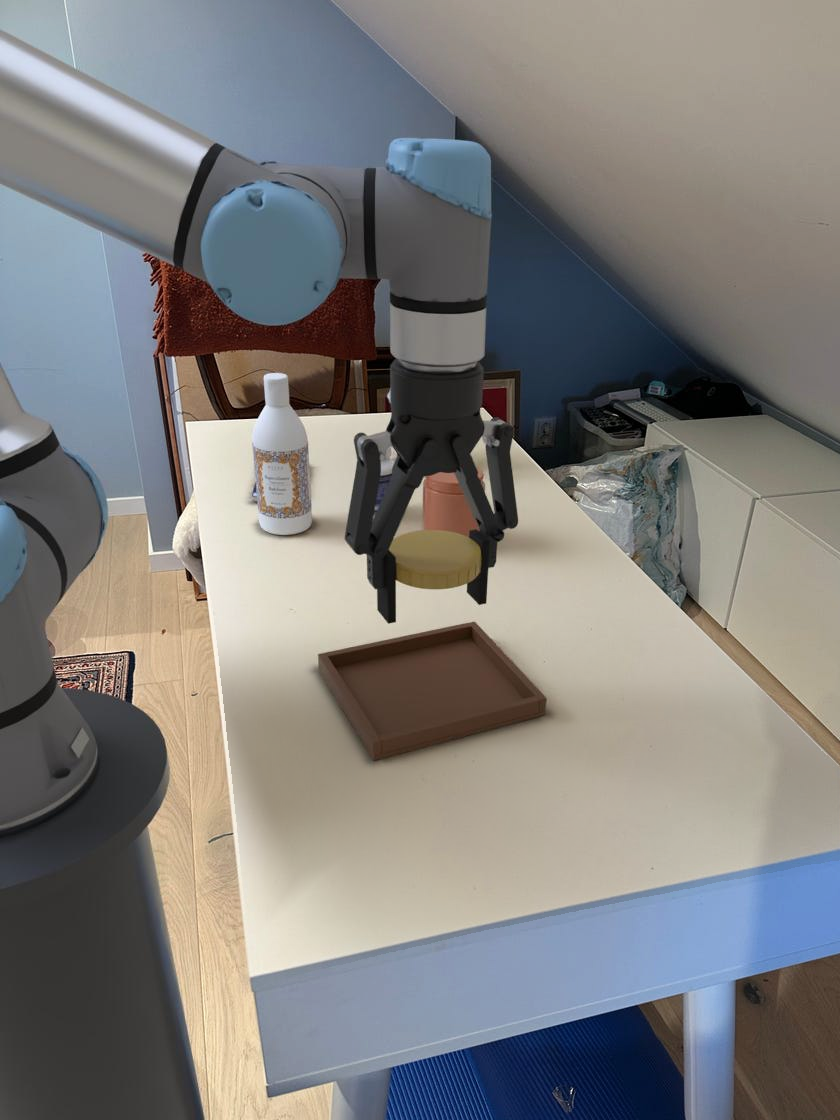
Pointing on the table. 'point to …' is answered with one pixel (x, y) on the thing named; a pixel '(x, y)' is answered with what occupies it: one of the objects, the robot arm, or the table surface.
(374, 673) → the tray
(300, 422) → the bath foam
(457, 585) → the lid
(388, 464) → the pill bottle
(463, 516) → the jar
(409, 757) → the table surface
